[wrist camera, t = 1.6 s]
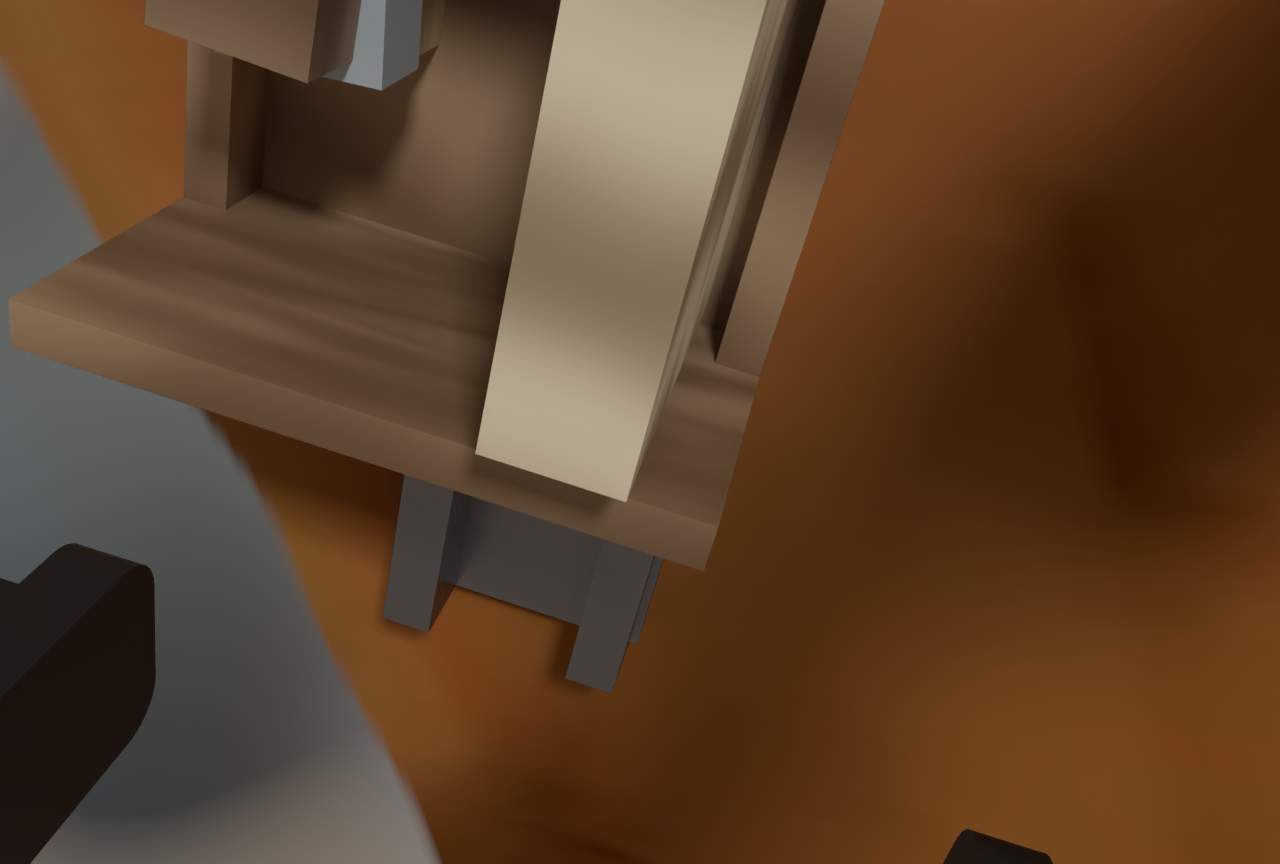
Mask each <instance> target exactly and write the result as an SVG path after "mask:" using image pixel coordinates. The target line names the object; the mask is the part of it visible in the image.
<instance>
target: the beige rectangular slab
mask: <svg viewBox="0 0 1280 864" xmlns="http://www.w3.org/2000/svg"><path fill="white" fill-rule="evenodd" d="M798 2H799V0H561V3H560V9H559V14H558V19H557V24H556V30H555V35H554V40H553V46H552V51H551V56H550V61H549V67H548V72H547V77H546V83H545V88H544V93H543V98H542V104H541V109H540V114H539V120H538V125H537V130H536V135H535V141H534V146H533V151H532V157H531V162H530V167H529V172H528V178H527V183H526V188H525V194H524V199H523V204H522V209H521V215H520V220H519V225H518V231H517V236H516V241H515V246H514V252H513V257H512V262H511V268H510V273H509V278H508V283H507V289H506V294H505V299H504V304H503V310H502V315H501V320H500V326H499V331H498V336H497V341H496V347H495V352H494V357H493V363H492V368H491V373H490V378H489V384H488V389H487V394H486V400H485V405H484V410H483V415H482V421H481V426H480V431H479V437H478V442H477V447H476V452H475V454H478V455H481V456H484V457H487V458H490V459H493V460H496V461H499V462H502V463H506V464H509V465H512V466H515V467H518V468H521V469H524V470H527V471H530V472H533V473H537V474H540V475H543V476H546V477H549V478H552V479H555V480H558V481H561V482H565V483H568V484H571V485H574V486H577V487H580V488H583V489H586V490H589V491H592V492H596V493H599V494H602V495H605V496H608V497H611V498H614V499H617V500H620V501H624V502H626V501H627V499H628V497H629V494H630V492H631V489H632V487H633V484H634V482H635V479H636V477H637V474H638V472H639V470H640V467H641V465H642V462H643V460H644V457H645V455H646V452H647V450H648V448H649V445H650V443H651V440H652V438H653V435H654V433H655V430H656V428H657V425H658V423H659V421H660V418H661V416H662V413H663V411H664V408H665V406H666V403H667V401H668V398H669V396H670V394H671V391H672V389H673V386H674V384H675V381H676V379H677V376H678V374H679V372H680V369H681V367H682V364H683V362H684V359H685V357H686V354H687V352H688V349H689V347H690V345H691V342H692V340H693V337H694V335H695V332H696V330H697V327H698V325H699V323H700V320H701V318H702V315H703V313H704V310H705V308H706V305H707V303H708V300H709V298H710V296H711V293H712V291H713V288H714V286H715V283H716V280H717V277H718V274H719V270H720V267H721V263H722V260H723V257H724V253H725V250H726V246H727V243H728V240H729V236H730V233H731V229H732V226H733V223H734V219H735V216H736V212H737V209H738V206H739V202H740V199H741V195H742V192H743V189H744V185H745V182H746V179H747V175H748V172H749V168H750V165H751V162H752V158H753V155H754V151H755V148H756V145H757V141H758V138H759V134H760V131H761V128H762V124H763V121H764V117H765V114H766V111H767V107H768V104H769V100H770V97H771V94H772V90H773V87H774V83H775V80H776V77H777V73H778V70H779V66H780V63H781V60H782V56H783V53H784V50H785V46H786V43H787V39H788V36H789V33H790V29H791V26H792V22H793V19H794V16H795V12H796V9H797V5H798Z"/></svg>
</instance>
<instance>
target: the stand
mask: <svg viewBox="0 0 1280 864" xmlns="http://www.w3.org/2000/svg"><path fill="white" fill-rule="evenodd" d="M662 562H663V558H660V557H657V556H654V555H651V554H648V553H645V552H642V551H639V550H636V549H633V548H630V547H626V546H623V545H620V544H617V543H614V542H611V541H608V540H605V539H602V538H599V537H596V536H593V535H589V534H586V533H583V532H580V531H577V530H574V529H571V528H568V527H565V526H562V525H559V524H556V523H553V522H549V521H546V520H543V519H540V518H537V517H534V516H531V515H528V514H525V513H522V512H519V511H516V510H512V509H509V508H506V507H503V506H500V505H497V504H494V503H491V502H488V501H485V500H482V499H479V498H475V497H472V496H469V495H466V494H463V493H460V492H457V491H454V490H451V489H448V488H445V487H442V486H439V485H435V484H432V483H429V482H426V481H423V480H420V479H417V478H414V477H411V476H408V475H404V481H403V488H402V495H401V501H400V508H399V514H398V521H397V527H396V534H395V541H394V547H393V554H392V560H391V567H390V574H389V580H388V587H387V593H386V600H385V607H384V613H383V618H385V619H388V620H391V621H394V622H397V623H400V624H403V625H406V626H409V627H412V628H415V629H418V630H421V631H424V632H427V633H428V632H429V630H430V629H431V627H432V625H433V623H434V622H435V620H436V618H437V616H438V615H439V613H440V611H441V610H442V608H443V606H444V604H445V603H446V601H447V599H448V597H449V596H450V594H451V592H452V590H453V589H454V587H455V585H458V586H461V587H464V588H467V589H470V590H473V591H476V592H479V593H482V594H485V595H488V596H491V597H494V598H497V599H500V600H503V601H506V602H509V603H512V604H515V605H518V606H521V607H524V608H527V609H530V610H533V611H536V612H539V613H543V614H546V615H549V616H552V617H555V618H558V619H561V620H564V621H567V622H570V623H573V624H576V625H579V626H580V627H579V630H578V634H577V638H576V641H575V645H574V649H573V652H572V656H571V660H570V663H569V667H568V671H567V674H566V678H565V679H568V680H571V681H574V682H577V683H580V684H583V685H586V686H589V687H592V688H595V689H598V690H601V691H604V692H607V693H610V694H612V691H613V688H614V685H615V682H616V679H617V676H618V673H619V671H620V668H621V665H622V662H623V659H624V656H625V653H626V650H627V647H628V644H629V642H630V643H633V644H637V641H638V638H639V635H640V632H641V629H642V626H643V623H644V620H645V617H646V613H647V610H648V607H649V604H650V601H651V597H652V594H653V591H654V588H655V585H656V581H657V578H658V575H659V572H660V568H661V565H662Z"/></svg>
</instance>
